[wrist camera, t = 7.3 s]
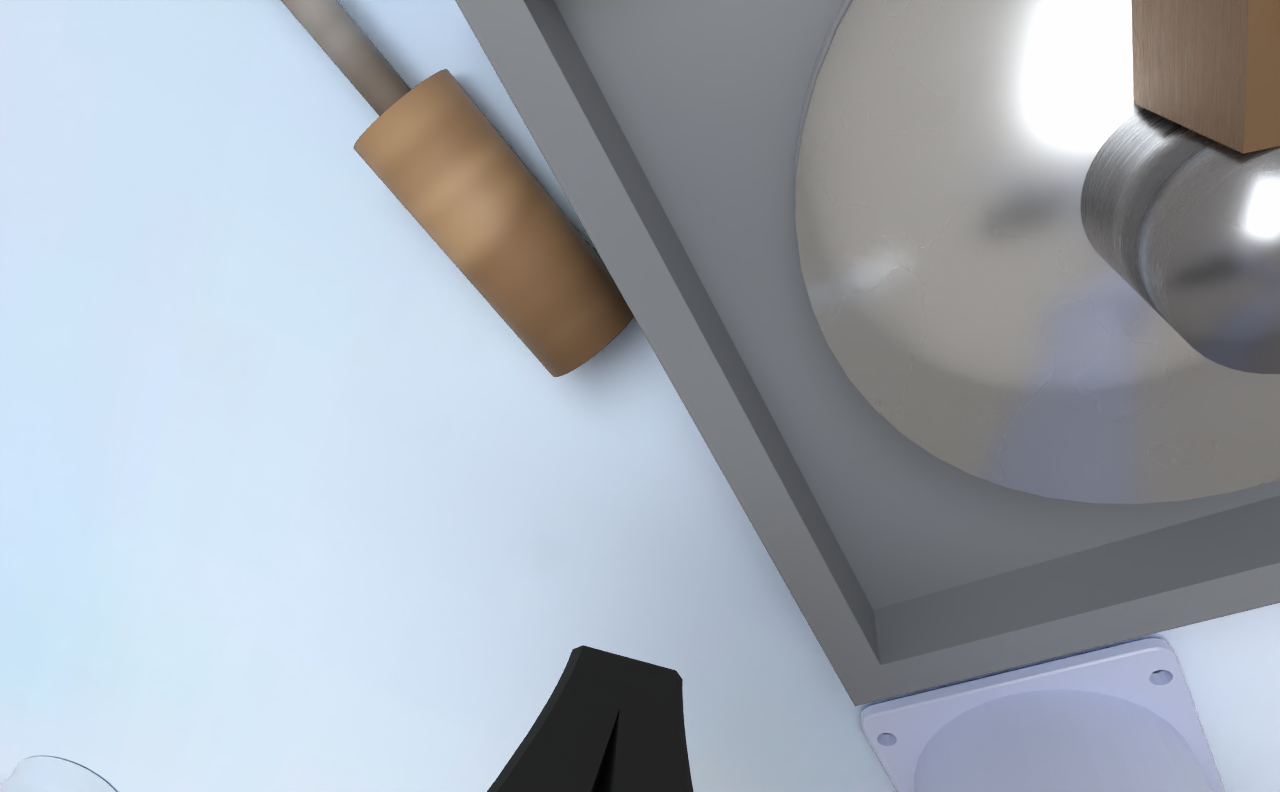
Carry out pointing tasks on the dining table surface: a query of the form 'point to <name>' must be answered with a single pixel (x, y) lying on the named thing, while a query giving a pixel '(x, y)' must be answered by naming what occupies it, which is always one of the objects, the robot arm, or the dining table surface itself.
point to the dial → (1054, 236)
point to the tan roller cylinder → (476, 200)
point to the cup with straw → (52, 777)
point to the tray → (828, 363)
